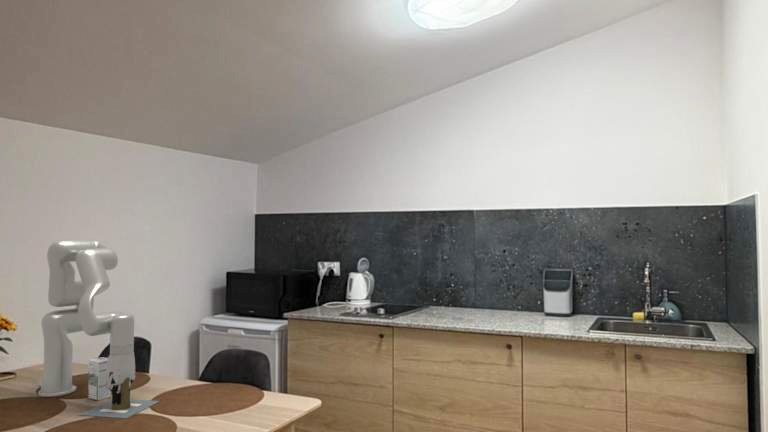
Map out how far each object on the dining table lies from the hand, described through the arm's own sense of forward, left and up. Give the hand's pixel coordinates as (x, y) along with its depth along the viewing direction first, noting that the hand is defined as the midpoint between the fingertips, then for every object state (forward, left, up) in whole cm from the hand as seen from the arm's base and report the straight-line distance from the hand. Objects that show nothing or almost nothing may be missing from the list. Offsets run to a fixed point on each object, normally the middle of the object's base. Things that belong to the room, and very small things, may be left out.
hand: (120, 401), depth 182 cm
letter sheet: (0, 0, -2) cm, 2 cm away
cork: (0, 0, -2) cm, 2 cm away
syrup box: (-16, +9, -3) cm, 19 cm away
